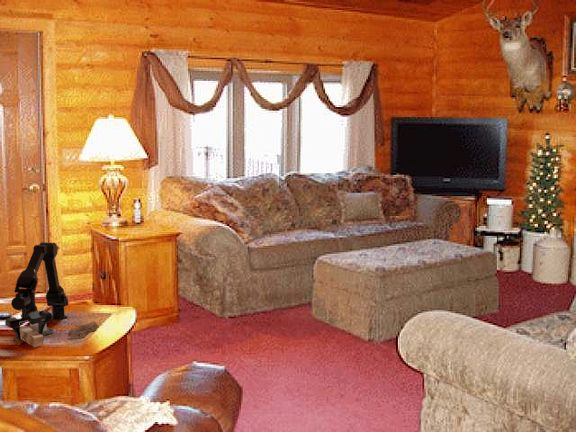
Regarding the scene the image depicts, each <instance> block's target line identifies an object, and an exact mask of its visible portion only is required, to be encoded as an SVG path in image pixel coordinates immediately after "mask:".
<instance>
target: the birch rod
mask: <svg viewBox="0 0 576 432" xmlns="http://www.w3.org/2000/svg"><path fill="white" fill-rule="evenodd" d="M20 337H21V338H22V339H24V340H25V341H24V342H25V343H27V344H28V345H29V346H32V347H33V348H37V347H40V346H41V347H43V346H44V335H41V334H39V333H38V332H36V331H34V330H32V329H31V328H29V327H28V326H27V325H21V326H20ZM22 339H21V340H22Z"/></svg>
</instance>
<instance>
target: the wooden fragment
mask: <svg viewBox="0 0 576 432" xmlns="http://www.w3.org/2000/svg"><path fill="white" fill-rule="evenodd" d="M98 328H100V326H99V325H98V324H97V322H96V321H92V322H89V323H86V324H83V325H79V326H77V327H75V328H72V329H70V330H69V331H68V337H67V340H79V339H85V338H86V336H87V335H89V334H90V333H92V332H96V331H97V329H98Z"/></svg>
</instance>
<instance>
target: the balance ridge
mask: <svg viewBox="0 0 576 432" xmlns="http://www.w3.org/2000/svg"><path fill="white" fill-rule="evenodd" d="M47 323H48V322H47ZM47 323H46V324H45V326H44V329H43V332H42V335H43V336H47V335H52V334H54V329H52V328H51V327H49V326H47ZM27 327H29V328H31V329H32V330H34V331H36V332H38V333H39V330H38V323H37V324H34V325H31V324H30V325H28V326H27Z"/></svg>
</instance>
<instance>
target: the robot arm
mask: <svg viewBox="0 0 576 432" xmlns="http://www.w3.org/2000/svg"><path fill="white" fill-rule="evenodd" d="M58 252H59V247H58V245H57V243H56V242H44V241H43V242H42V241H41V242H40V243H39V244H35V245H34V246H33V248H32V254H31V256H30V258H29V261H28V264H27V266H26V268H25V269H24V270H22V271H21V272H20V274H19V276H18V278H17V279H16V282H15V283H16V284H15V288H14V293H16V294H15V297H13V298H12V299H11V303H10V304H11V307H12V308H13V309H14V310H16V311H21V313H20V317H21V318H17V317H15V316H14V317H9V318H6V319H5V321H4V322H5V323H4V325H5V326H7V327H8V328H9V329H12V330H13V332H14V334H15V336H16V338H17V341H21V340H22V339H21V337H20V327H21V326H20V324H23V323H27V322H28V323H29V324H30V326H31V325H34V324H37V323H38V330H39V334H41V335H42V332H43V329H44V326H45V324H46V323H49V322H50V321H51V320H54V321H57V320H63V319H66V318H68V315H66V314H65V313H66V312H65V307H67V306H69V298H68V296H67V295H66V294H65V293H66V292H65V290H64V288H63V287H62V285H60V280H59V274H58V269H57V265H56V264H57V262H56V257H57V255H58ZM42 262H44V268H45V273H46V279H47V284H48V288H47V289H48V290H47V291H46V294H45V299H46V305H47V307H51V312H49V311H48V310H38V307H37V305H36V291H37V287H38V283H39V278H38V275H37V274H38V272H39V269H40V267H41V265H42Z"/></svg>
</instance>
